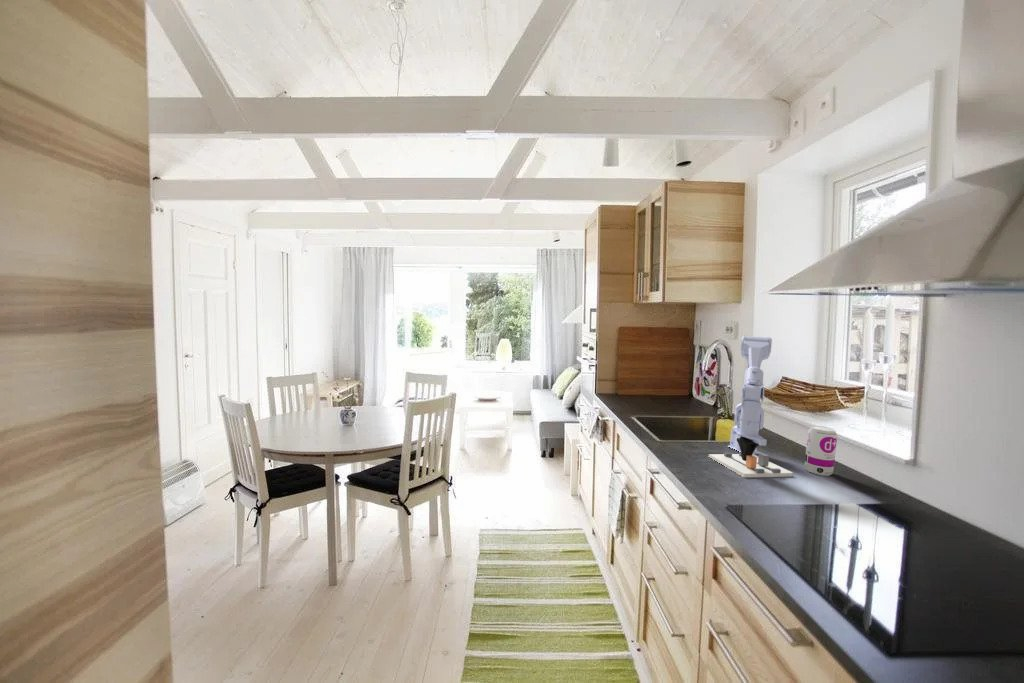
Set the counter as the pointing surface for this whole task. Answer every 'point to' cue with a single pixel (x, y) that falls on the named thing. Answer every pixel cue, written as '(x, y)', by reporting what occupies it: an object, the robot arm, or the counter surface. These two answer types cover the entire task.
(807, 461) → the supplement can
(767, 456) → the grey rectangular box
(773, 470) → the panel
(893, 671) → the counter surface
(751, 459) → the fader orange
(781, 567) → the counter surface
